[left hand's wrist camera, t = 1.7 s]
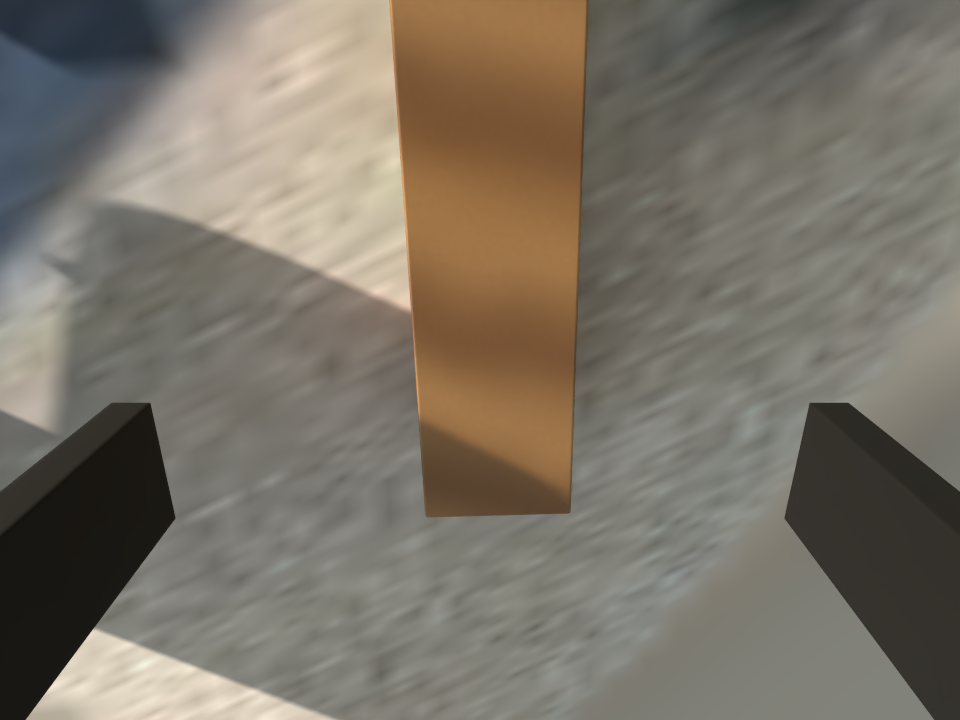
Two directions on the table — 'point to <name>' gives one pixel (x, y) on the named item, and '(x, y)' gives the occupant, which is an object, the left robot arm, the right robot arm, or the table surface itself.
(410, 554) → the table surface
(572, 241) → the beam
